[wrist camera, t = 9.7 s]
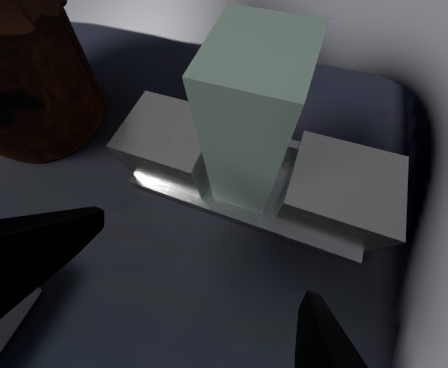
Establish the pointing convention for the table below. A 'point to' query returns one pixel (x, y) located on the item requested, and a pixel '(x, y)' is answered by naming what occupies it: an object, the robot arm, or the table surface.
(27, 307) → the charger
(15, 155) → the brown flower pot
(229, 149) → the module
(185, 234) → the table surface
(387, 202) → the rail
